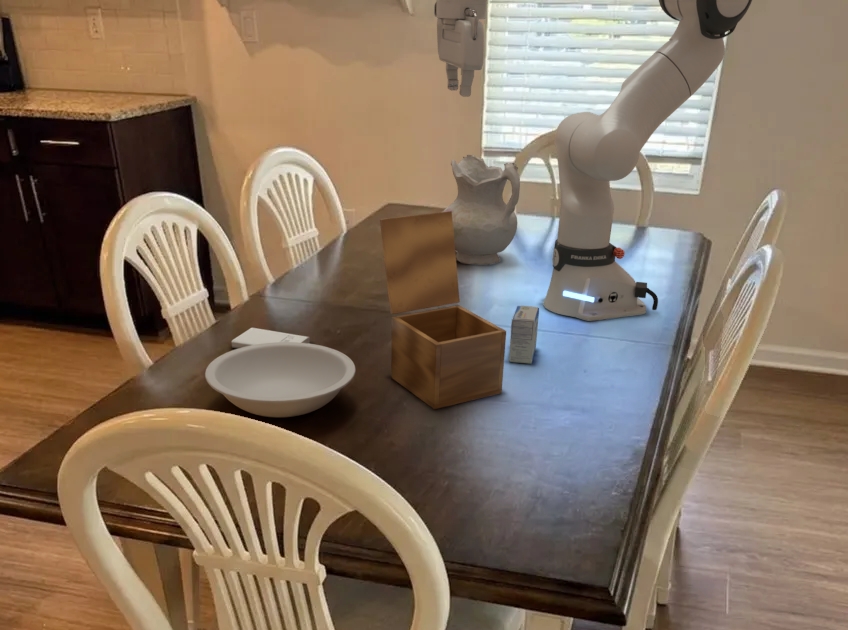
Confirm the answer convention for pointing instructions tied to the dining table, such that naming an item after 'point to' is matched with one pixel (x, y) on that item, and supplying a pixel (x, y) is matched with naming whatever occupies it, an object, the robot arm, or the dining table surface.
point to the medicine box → (523, 334)
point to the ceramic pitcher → (483, 210)
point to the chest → (447, 355)
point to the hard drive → (265, 338)
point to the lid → (420, 261)
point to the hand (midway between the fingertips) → (458, 93)
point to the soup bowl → (280, 377)
